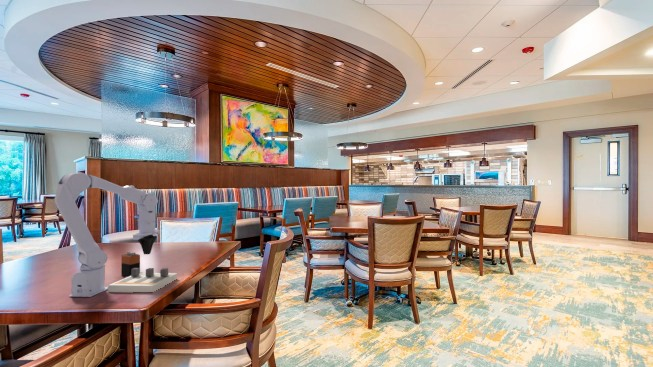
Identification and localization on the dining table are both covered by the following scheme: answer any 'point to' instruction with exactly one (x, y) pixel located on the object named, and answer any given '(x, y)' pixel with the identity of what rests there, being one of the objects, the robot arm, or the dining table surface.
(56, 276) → the dining table surface
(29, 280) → the dining table surface
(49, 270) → the dining table surface
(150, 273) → the block
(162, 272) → the block
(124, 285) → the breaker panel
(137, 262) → the battery
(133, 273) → the block
